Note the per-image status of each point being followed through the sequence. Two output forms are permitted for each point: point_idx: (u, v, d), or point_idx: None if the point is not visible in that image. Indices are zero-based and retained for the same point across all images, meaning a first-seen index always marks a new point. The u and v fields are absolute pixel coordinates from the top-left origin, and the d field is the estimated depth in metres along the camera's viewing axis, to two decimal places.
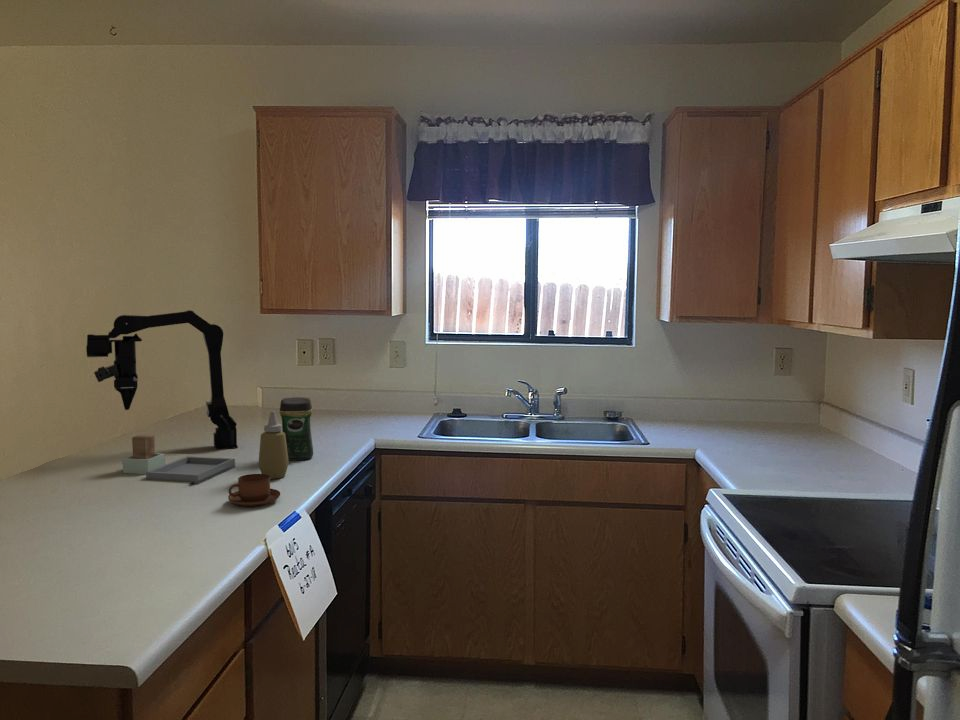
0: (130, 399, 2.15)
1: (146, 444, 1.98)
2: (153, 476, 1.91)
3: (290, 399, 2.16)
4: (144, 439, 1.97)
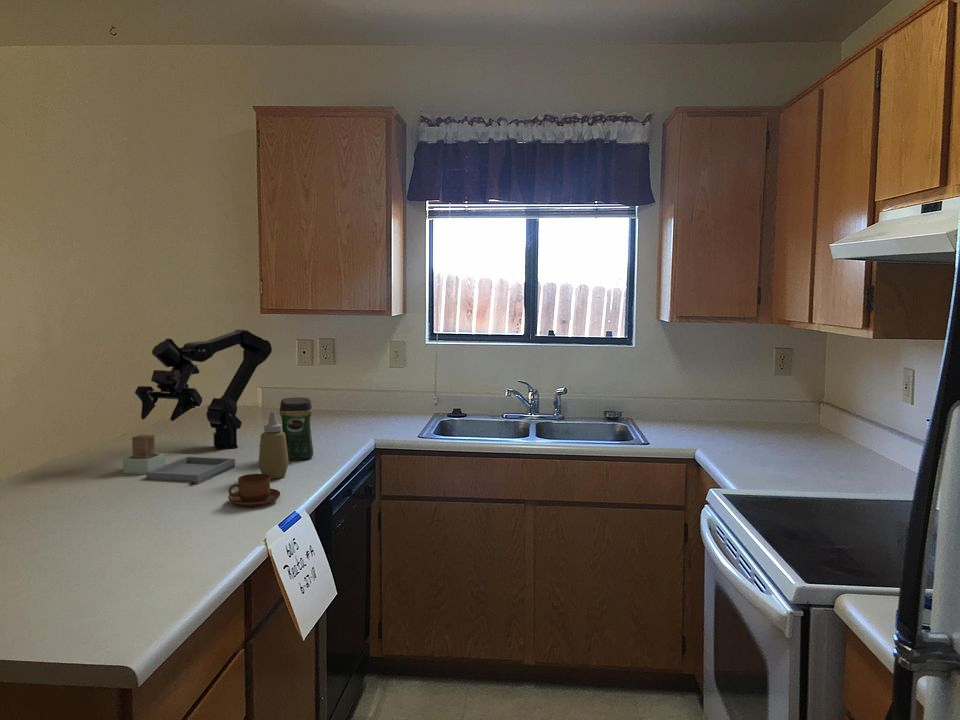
0: (181, 413, 2.08)
1: (146, 444, 1.98)
2: (153, 476, 1.91)
3: (290, 399, 2.16)
4: (144, 439, 1.97)
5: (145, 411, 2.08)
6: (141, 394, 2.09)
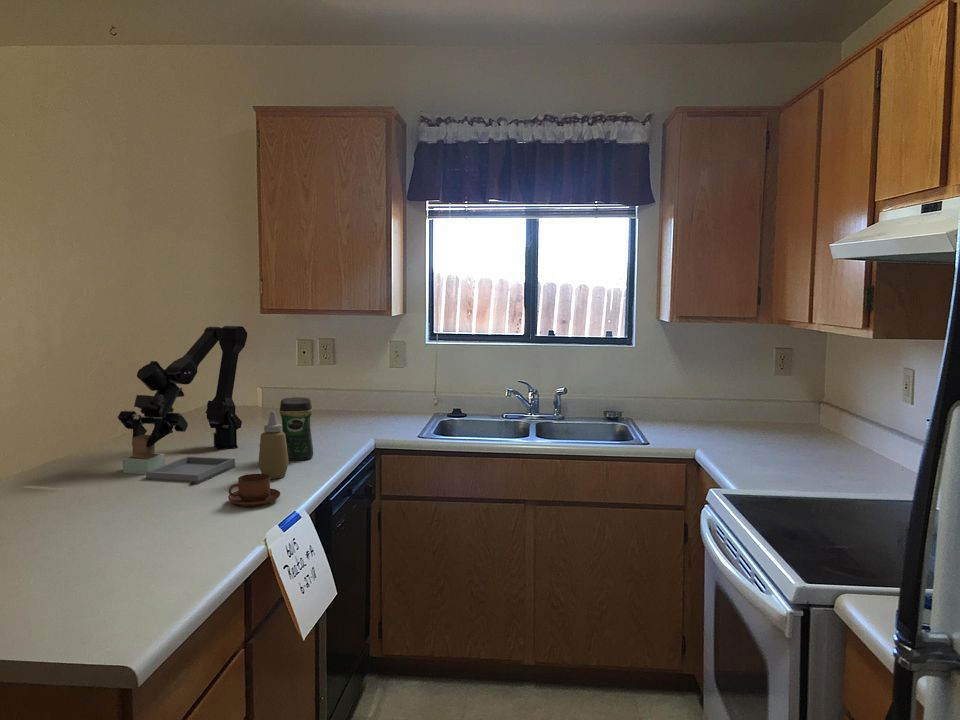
0: (157, 439, 2.01)
1: (146, 444, 1.98)
2: (153, 476, 1.91)
3: (290, 399, 2.16)
4: (144, 439, 1.97)
5: None
6: (132, 420, 2.01)
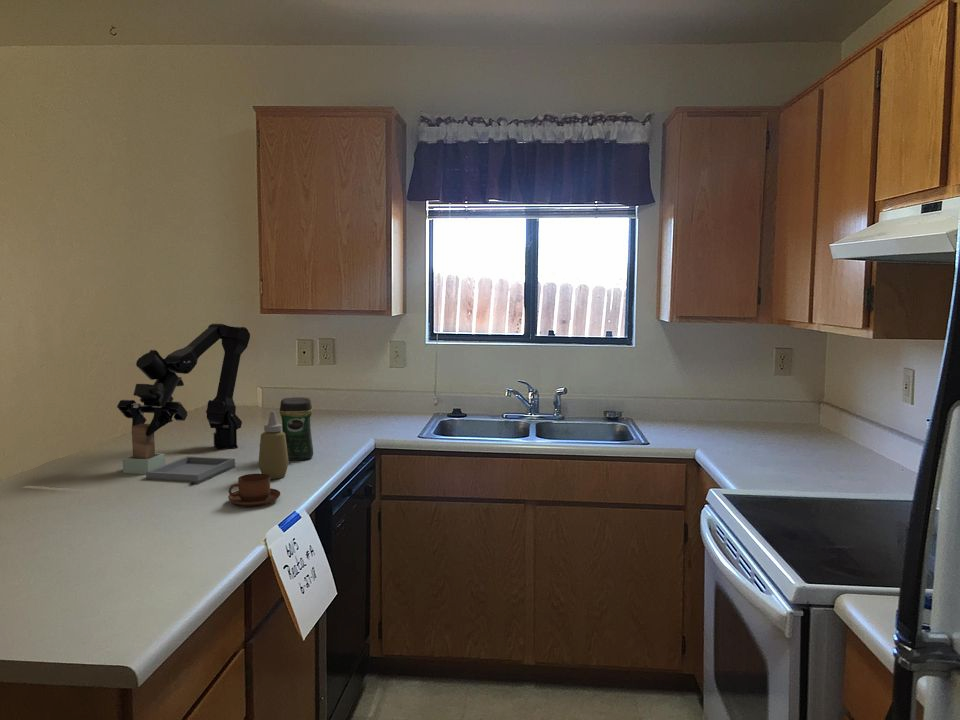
0: (157, 428, 2.00)
1: None
2: (153, 476, 1.91)
3: (290, 399, 2.16)
4: (144, 428, 1.97)
5: None
6: (131, 409, 2.01)
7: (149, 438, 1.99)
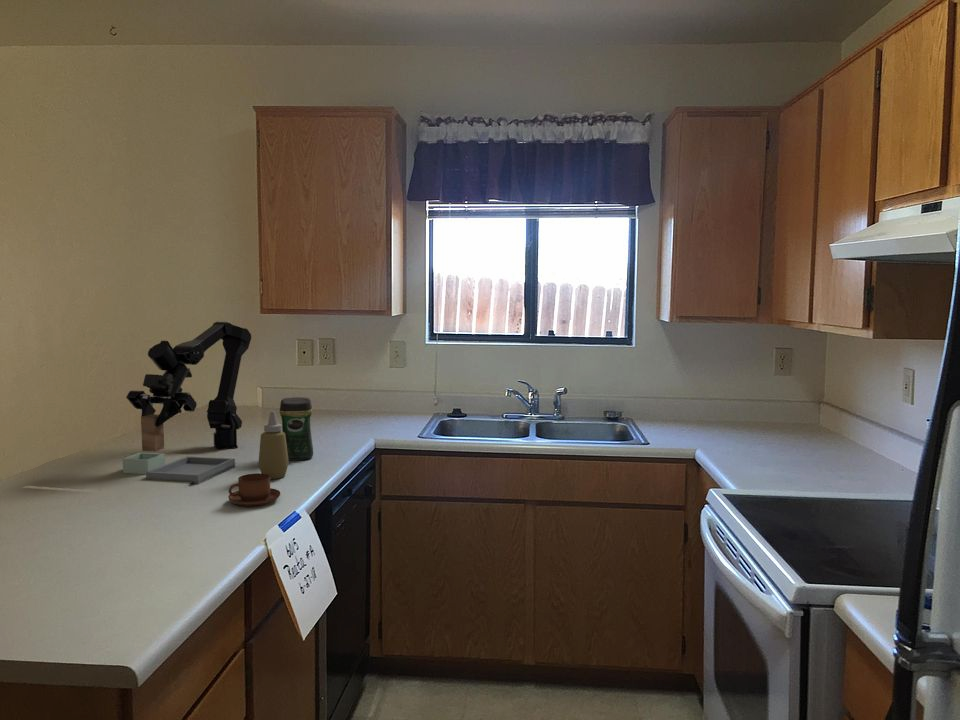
0: (166, 418, 2.00)
1: (155, 423, 1.97)
2: (153, 476, 1.91)
3: (290, 399, 2.16)
4: (153, 418, 1.97)
5: None
6: (141, 399, 2.00)
7: (158, 429, 1.99)
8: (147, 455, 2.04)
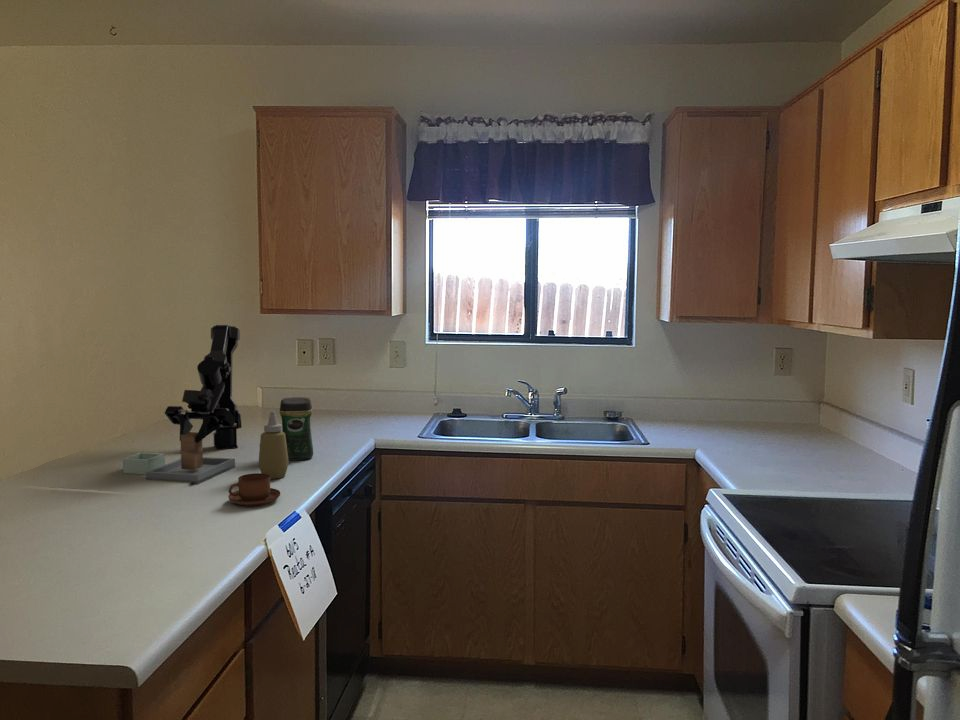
0: (206, 434, 1.99)
1: (195, 442, 1.97)
2: (153, 476, 1.91)
3: (290, 399, 2.16)
4: (193, 436, 1.96)
5: (183, 433, 1.99)
6: (179, 415, 2.00)
7: (198, 447, 1.98)
8: (147, 455, 2.04)
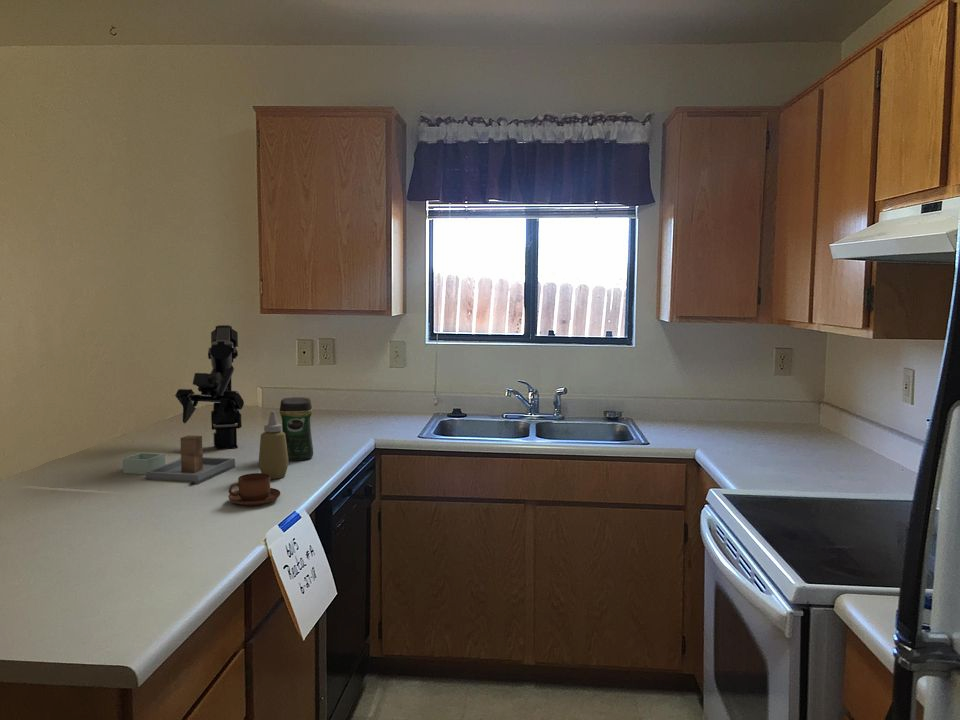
0: (223, 416, 2.04)
1: (195, 445, 1.97)
2: (153, 476, 1.91)
3: (290, 399, 2.16)
4: (193, 440, 1.96)
5: (186, 415, 2.04)
6: (182, 397, 2.05)
7: (197, 450, 1.98)
8: (147, 455, 2.04)
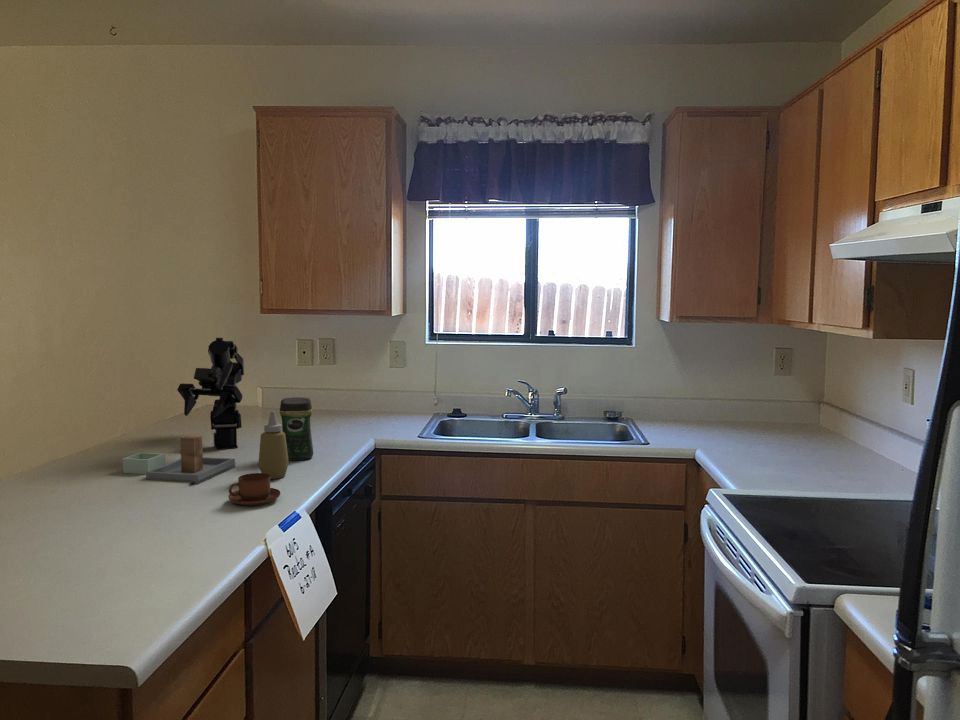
0: (222, 409, 2.15)
1: (195, 445, 1.97)
2: (153, 476, 1.91)
3: (290, 399, 2.16)
4: (193, 440, 1.96)
5: (188, 408, 2.15)
6: (183, 391, 2.16)
7: (197, 450, 1.98)
8: (147, 455, 2.04)
